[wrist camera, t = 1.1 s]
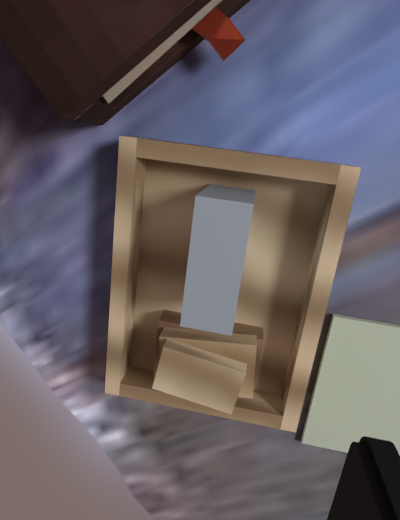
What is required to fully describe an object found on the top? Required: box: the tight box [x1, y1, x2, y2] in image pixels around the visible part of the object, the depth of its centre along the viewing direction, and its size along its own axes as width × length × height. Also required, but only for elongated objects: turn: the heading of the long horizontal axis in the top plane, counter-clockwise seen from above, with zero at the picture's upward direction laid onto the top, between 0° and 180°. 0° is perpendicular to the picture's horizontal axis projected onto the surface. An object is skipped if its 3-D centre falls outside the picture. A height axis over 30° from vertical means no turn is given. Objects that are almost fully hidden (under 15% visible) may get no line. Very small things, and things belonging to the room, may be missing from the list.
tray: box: [105, 136, 361, 432], centre depth 28 cm, size 20×15×3 cm
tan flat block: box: [153, 310, 264, 391], centre depth 30 cm, size 5×8×2 cm, turn 83°
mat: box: [301, 314, 400, 455], centre depth 30 cm, size 12×8×1 cm, turn 173°
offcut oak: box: [159, 327, 257, 399], centre depth 28 cm, size 4×7×2 cm, turn 89°
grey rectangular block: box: [180, 184, 255, 336], centre depth 25 cm, size 8×3×7 cm, turn 173°
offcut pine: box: [152, 338, 247, 414], centre depth 27 cm, size 4×6×1 cm, turn 75°
